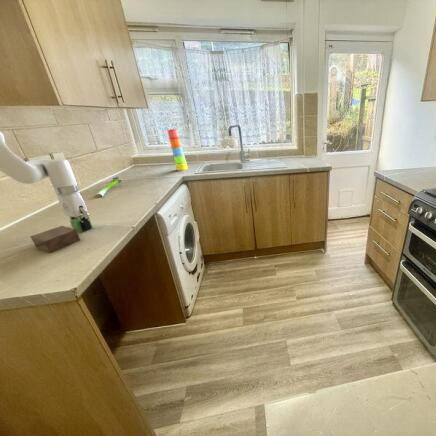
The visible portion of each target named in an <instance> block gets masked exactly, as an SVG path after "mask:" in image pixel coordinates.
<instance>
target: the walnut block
mask: <svg viewBox="0 0 436 436" xmlns="http://www.w3.org/2000/svg"><path fill="white" fill-rule="evenodd" d="M29 237H30V239H31V240H32V243H33V244H34V246H35V248H36V249H38V250H42V251H44V252H47V253H49V254H51V253H53V252H56V251H58V250H61V249H63V248H65V247H69V246H71V245H72V244H75V243H77V242H80V241H81V238H80V236H79V234H78V232H77V231H76V229H73V227H69V226H64V225H60V226H57V227H54V228H51V229H48V230H45V231H42V232H39V233H36V234H32V235H30V236H29Z"/></svg>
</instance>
